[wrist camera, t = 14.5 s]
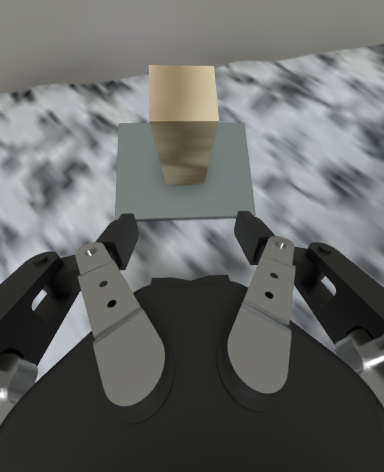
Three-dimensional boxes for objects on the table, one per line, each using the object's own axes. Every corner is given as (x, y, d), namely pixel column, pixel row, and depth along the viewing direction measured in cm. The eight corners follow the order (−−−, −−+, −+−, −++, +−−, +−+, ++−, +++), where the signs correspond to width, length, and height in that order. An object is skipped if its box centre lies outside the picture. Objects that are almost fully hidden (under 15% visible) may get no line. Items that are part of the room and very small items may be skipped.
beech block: (201, 151, 20) (213, 66, 11) (203, 184, 19) (219, 120, 11) (165, 151, 20) (149, 65, 11) (166, 185, 19) (149, 121, 10)
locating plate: (241, 129, 22) (257, 91, 17) (252, 217, 20) (273, 203, 15) (122, 129, 21) (102, 90, 16) (118, 221, 19) (95, 208, 14)
